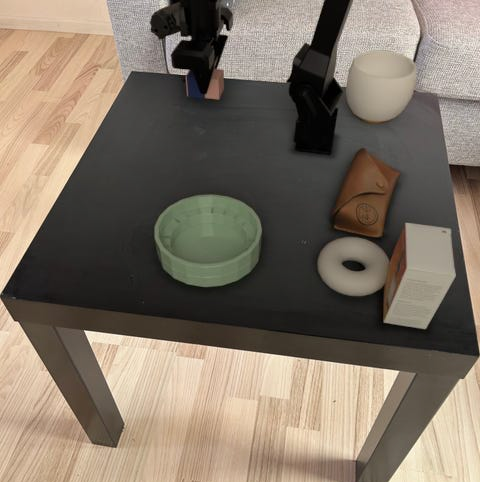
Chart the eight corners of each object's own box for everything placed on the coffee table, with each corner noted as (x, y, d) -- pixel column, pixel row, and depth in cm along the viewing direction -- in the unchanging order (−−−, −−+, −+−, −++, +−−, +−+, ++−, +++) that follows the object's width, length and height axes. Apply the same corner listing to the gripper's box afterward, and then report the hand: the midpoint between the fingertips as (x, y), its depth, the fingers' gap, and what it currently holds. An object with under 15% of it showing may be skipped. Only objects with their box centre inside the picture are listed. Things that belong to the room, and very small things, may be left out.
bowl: (268, 225, 73) (269, 201, 70) (249, 297, 64) (250, 274, 61) (175, 212, 75) (172, 188, 71) (145, 280, 66) (139, 257, 63)
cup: (411, 133, 89) (427, 81, 81) (345, 132, 89) (355, 80, 81) (398, 99, 96) (412, 49, 89) (337, 99, 97) (345, 48, 89)
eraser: (224, 89, 88) (223, 69, 86) (219, 100, 86) (218, 80, 83) (192, 85, 89) (191, 65, 86) (187, 96, 87) (185, 76, 84)
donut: (373, 312, 63) (396, 263, 68) (379, 296, 60) (403, 246, 65) (303, 284, 66) (331, 239, 71) (306, 267, 63) (335, 222, 68)
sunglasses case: (385, 238, 71) (370, 202, 67) (341, 246, 75) (325, 212, 71) (402, 170, 81) (390, 135, 77) (362, 180, 85) (349, 148, 81)
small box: (382, 278, 66) (404, 220, 58) (424, 284, 66) (451, 226, 57) (381, 324, 62) (405, 267, 53) (426, 331, 61) (457, 275, 52)
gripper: (169, -36, 81) (178, 60, 93) (132, 6, 70) (148, 109, 82) (233, -31, 80) (234, 66, 92) (205, 13, 69) (210, 116, 81)
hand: (206, 87), depth 87 cm, fingers closed on eraser, 4 cm apart
